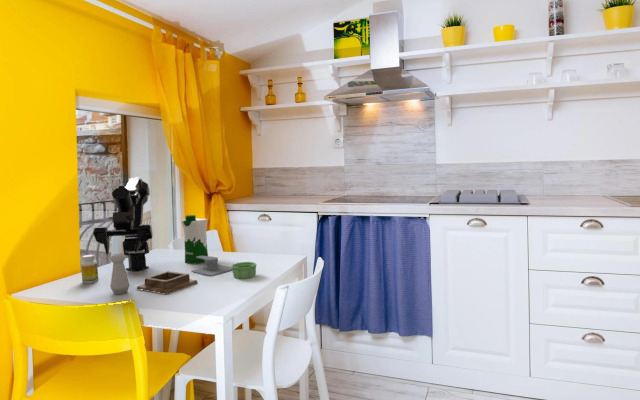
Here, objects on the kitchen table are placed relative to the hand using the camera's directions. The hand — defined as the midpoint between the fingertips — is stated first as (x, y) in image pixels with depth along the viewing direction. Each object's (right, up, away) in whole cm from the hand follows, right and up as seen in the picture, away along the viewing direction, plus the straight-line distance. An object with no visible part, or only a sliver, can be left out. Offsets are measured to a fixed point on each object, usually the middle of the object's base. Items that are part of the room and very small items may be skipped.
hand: (121, 253), depth 157 cm
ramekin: (+40, -10, +12) cm, 43 cm away
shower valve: (+26, -10, +22) cm, 35 cm away
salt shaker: (+2, -13, -5) cm, 14 cm away
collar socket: (+15, -12, +2) cm, 19 cm away
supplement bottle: (-16, -12, +11) cm, 23 cm away
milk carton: (+16, -8, +38) cm, 42 cm away
